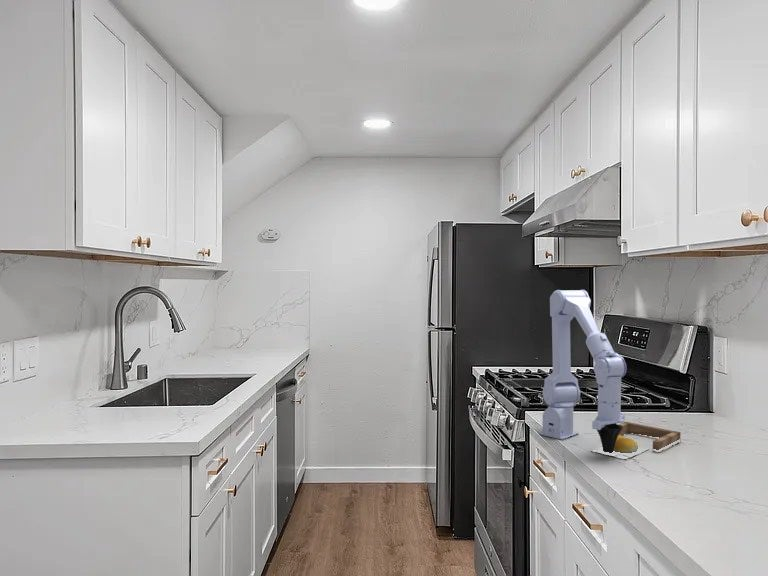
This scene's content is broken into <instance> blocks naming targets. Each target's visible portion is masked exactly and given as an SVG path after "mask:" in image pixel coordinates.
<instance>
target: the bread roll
mask: <svg viewBox="0 0 768 576" xmlns="http://www.w3.org/2000/svg"><path fill="white" fill-rule="evenodd" d="M638 446H639V445H638V443H637V442H636V441H635V440H634V439H632V438H630V437H624V435H623V436H621V435H618V437H617V440H616V443H615V447H614V450H613V451H615V452H620V453H632V452H636V451H637V449H638Z"/></svg>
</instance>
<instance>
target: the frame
mask: <svg viewBox="0 0 768 576" xmlns="http://www.w3.org/2000/svg"><path fill="white" fill-rule="evenodd" d="M618 425H621V426H622V430H621V431H620V433H619V435H621V436H622V435H623V436H625V435H624V434H626V435H628V434H629V433H633V434H632V435H634V434H641V435H647V436H652V437H659V439H654V440H652V450H653V449H656V450H659V449H661V448H663V447H665V446H667V445H669V444H671V443H673V442H675V441H677V440H679V439H680V440H681V431H678V430H672V429H671V430H670V429H665V428H660V427H655V426H650V425H645V424H639V423H635V422H628V421H625V422H624V423H618ZM627 433H628V434H627Z"/></svg>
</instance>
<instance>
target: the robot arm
mask: <svg viewBox="0 0 768 576" xmlns="http://www.w3.org/2000/svg"><path fill="white" fill-rule="evenodd" d="M591 302H592V300H591V298H590V296H589V293H588V291H586V290H585V289H580V290H577V289H576V290H574V289H571V290H563V289H562V290H561V289H557V290H554V291H553V292H552V294H551V295H550V296H549V315H550V317H551V337H552V339H551V340H552V343H551V345H552V373H550V374H549V375H548V376H547V377H545V378H544V386H543V388H542V397H543V399H544V402H545V403H546V405H548V406H547V408H546V409H545V410H543V413H542V430H541V431H540V432H539V435H542V436H545V437H550V438H554V439H559V440H562V441H564V440H566V439H568V437H569V438H571V437H570V436H572V437H574V436H573V435H575V436H577V435H579V434H580V433H579V432H577V431H574V407H576V406H577V403H578V402H579V400H580V398H581V389H580V387H579V379H578V378H577V377H576V376H575V375H573V374H572V368H571V367H572V366H571V365H572V362H571V360H572V359H571V356H572V355H571V353H572V352H571V321H572V320H573V319H574V318H575V319H576V321H577V322H578V324H579V325H580V327H581V329H582V331H583V332H584V334H585V335H586V339H585V344H586V346H587V349H588V350H589V353H590V355H591V356H592V358H593V361H594V362H595V363H594V365H593V371H594V374H595V380H596V384H597V385H598V387H597V416H596V418H595V419H594V420H593V421H592V425H591V429H592V430H596V432H597V433H598V436H599V438H600V441H601V446H602V447H603V451H604V452H609V453H612V452H613V450H614V447H615V443H616V440H617V437H618V435H619V433H620V431H621V430H622V426H621V425H619V424H621V423H624V422H626V420H625V419H626V418H625V416H626V415H625V413H621V408H622V407H621V404H622V400H621V399H622V378H624V376H625V375H626V374H627V363H626V361H625V359H624V357H623V356H622V355H620V354H619V353H618V352H615V350H614V348H613V346H612V345H611V343H610V341H609V339H608V337H607V334H605V333H603V332H600V331H599V328H598V326H597V323H596V321H595V319H594V316H593V313H592V311H591V309H590V308H591ZM576 434H577V435H576ZM565 438H566V439H565Z"/></svg>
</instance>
